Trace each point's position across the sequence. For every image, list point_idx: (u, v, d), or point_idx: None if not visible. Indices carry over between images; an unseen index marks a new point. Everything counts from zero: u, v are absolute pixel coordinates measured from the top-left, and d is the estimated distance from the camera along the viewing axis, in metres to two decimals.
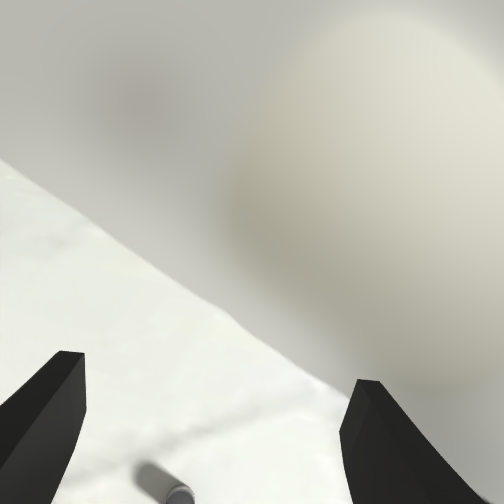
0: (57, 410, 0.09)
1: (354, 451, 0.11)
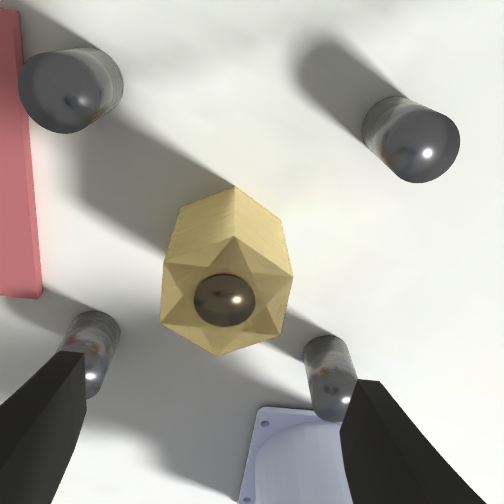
0: (57, 410, 0.09)
1: (354, 451, 0.11)
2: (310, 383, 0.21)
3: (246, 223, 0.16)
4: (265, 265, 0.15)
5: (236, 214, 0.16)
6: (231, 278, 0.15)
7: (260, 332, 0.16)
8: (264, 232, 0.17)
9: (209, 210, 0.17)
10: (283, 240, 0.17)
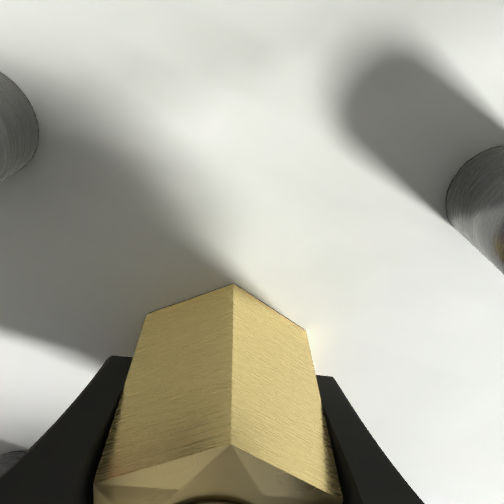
0: None
1: None
2: None
3: (253, 380, 0.09)
4: (291, 486, 0.08)
5: (235, 363, 0.09)
6: None
7: None
8: (284, 386, 0.10)
9: (189, 338, 0.10)
10: (315, 388, 0.10)
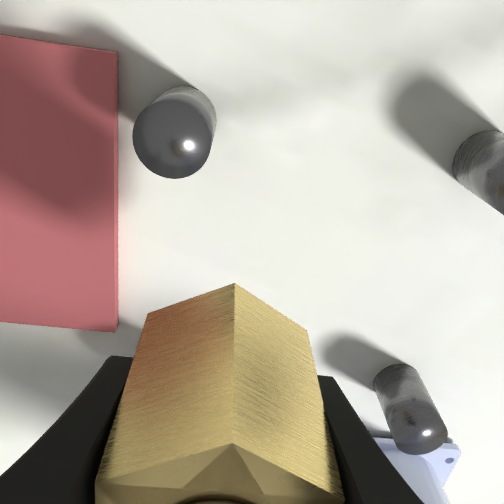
0: None
1: None
2: (389, 415, 0.21)
3: (254, 379, 0.09)
4: (292, 485, 0.08)
5: (236, 362, 0.09)
6: (228, 503, 0.08)
7: None
8: (286, 385, 0.10)
9: (190, 338, 0.10)
10: (316, 388, 0.10)
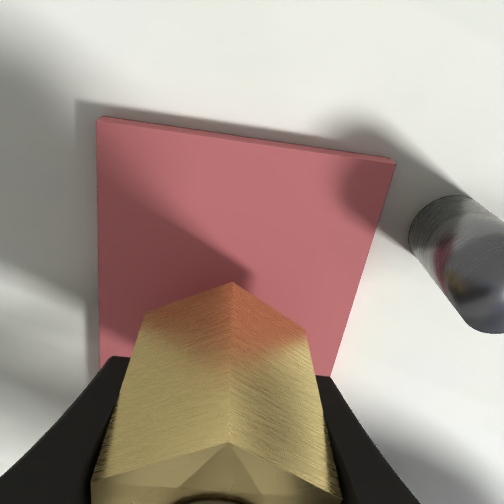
0: None
1: None
2: None
3: (252, 378, 0.09)
4: (289, 484, 0.08)
5: (233, 361, 0.09)
6: (225, 503, 0.08)
7: None
8: (283, 384, 0.10)
9: (188, 337, 0.10)
10: (314, 387, 0.10)
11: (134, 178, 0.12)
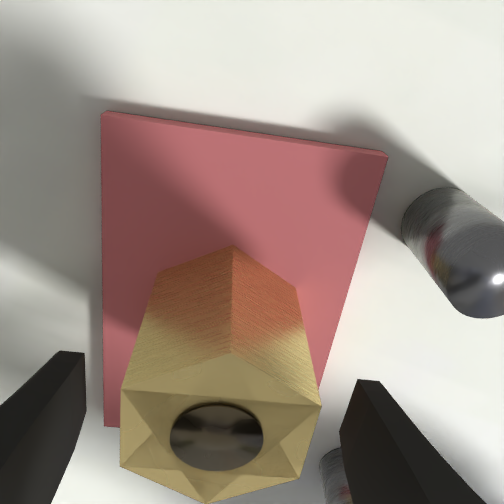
0: (57, 410, 0.09)
1: (354, 451, 0.11)
2: None
3: (249, 315, 0.11)
4: (279, 392, 0.10)
5: (233, 301, 0.11)
6: (227, 408, 0.10)
7: (270, 472, 0.11)
8: (275, 323, 0.11)
9: (195, 287, 0.12)
10: (301, 329, 0.12)
11: (137, 170, 0.12)
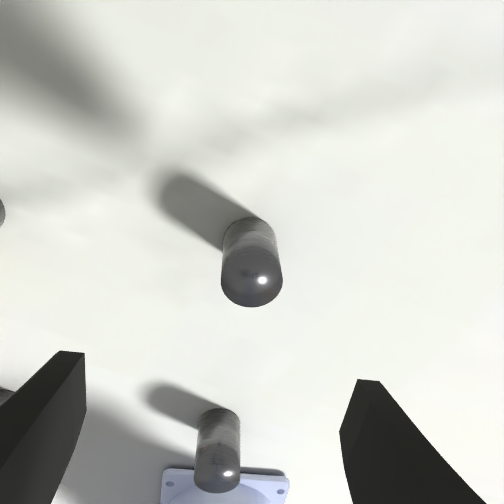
0: (57, 410, 0.09)
1: (354, 451, 0.11)
2: None
3: None
4: None
5: None
6: None
7: None
8: None
9: None
10: None
11: None
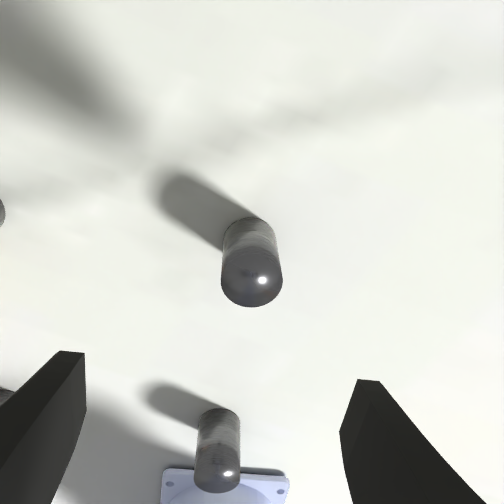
0: (57, 410, 0.09)
1: (354, 451, 0.11)
2: None
3: None
4: None
5: None
6: None
7: None
8: None
9: None
10: None
11: None
